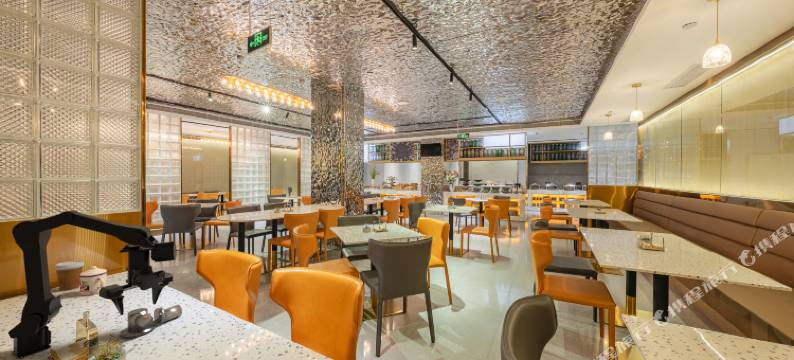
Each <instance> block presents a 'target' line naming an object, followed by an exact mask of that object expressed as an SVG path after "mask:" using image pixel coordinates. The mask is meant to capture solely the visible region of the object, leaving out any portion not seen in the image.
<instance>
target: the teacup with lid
mask: <svg viewBox="0 0 794 360" xmlns="http://www.w3.org/2000/svg"><path fill="white" fill-rule="evenodd" d="M107 276H108V270H107V269H105V268H100V267H97V266H95V265H93V266H90V268H89V269H87V270H85V271H82V273H81V274H80V275H79V277H80V287H79V295H80V296H93V295H96V294H97V293H98V294H99V291H100V289H101V288H102V287H105V286H108V284H107V283H108V282H107V281H108V280H107V278H108V277H107Z"/></svg>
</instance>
